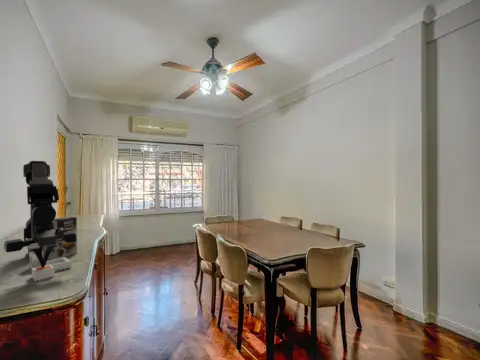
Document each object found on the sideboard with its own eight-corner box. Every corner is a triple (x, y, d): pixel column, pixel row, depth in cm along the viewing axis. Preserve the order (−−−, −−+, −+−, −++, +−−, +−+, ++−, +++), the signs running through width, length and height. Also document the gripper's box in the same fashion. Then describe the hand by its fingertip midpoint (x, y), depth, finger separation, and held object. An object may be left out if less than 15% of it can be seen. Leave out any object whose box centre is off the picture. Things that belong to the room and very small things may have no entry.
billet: (29, 267, 97) (29, 251, 97) (42, 265, 100) (42, 249, 100) (31, 270, 94) (31, 253, 94) (45, 267, 97) (45, 251, 97)
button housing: (31, 277, 87) (31, 268, 87) (50, 272, 91) (50, 264, 91) (35, 281, 83) (35, 271, 83) (54, 276, 87) (54, 267, 87)
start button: (36, 273, 87) (35, 267, 87) (47, 270, 89) (47, 264, 89) (38, 275, 85) (38, 269, 85) (50, 272, 87) (50, 266, 87)
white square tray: (39, 268, 95) (39, 262, 95) (64, 263, 101) (64, 256, 101) (44, 273, 90) (44, 266, 90) (71, 267, 96) (71, 261, 96)
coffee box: (59, 259, 106) (59, 220, 106) (46, 258, 108) (46, 219, 108) (77, 253, 115) (77, 216, 115) (65, 252, 116) (65, 216, 116)
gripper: (8, 227, 75) (9, 281, 75) (81, 219, 89) (82, 264, 89) (3, 223, 82) (4, 272, 82) (71, 216, 96) (72, 258, 96)
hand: (43, 266), depth 87 cm, fingers closed, pressing on start button
